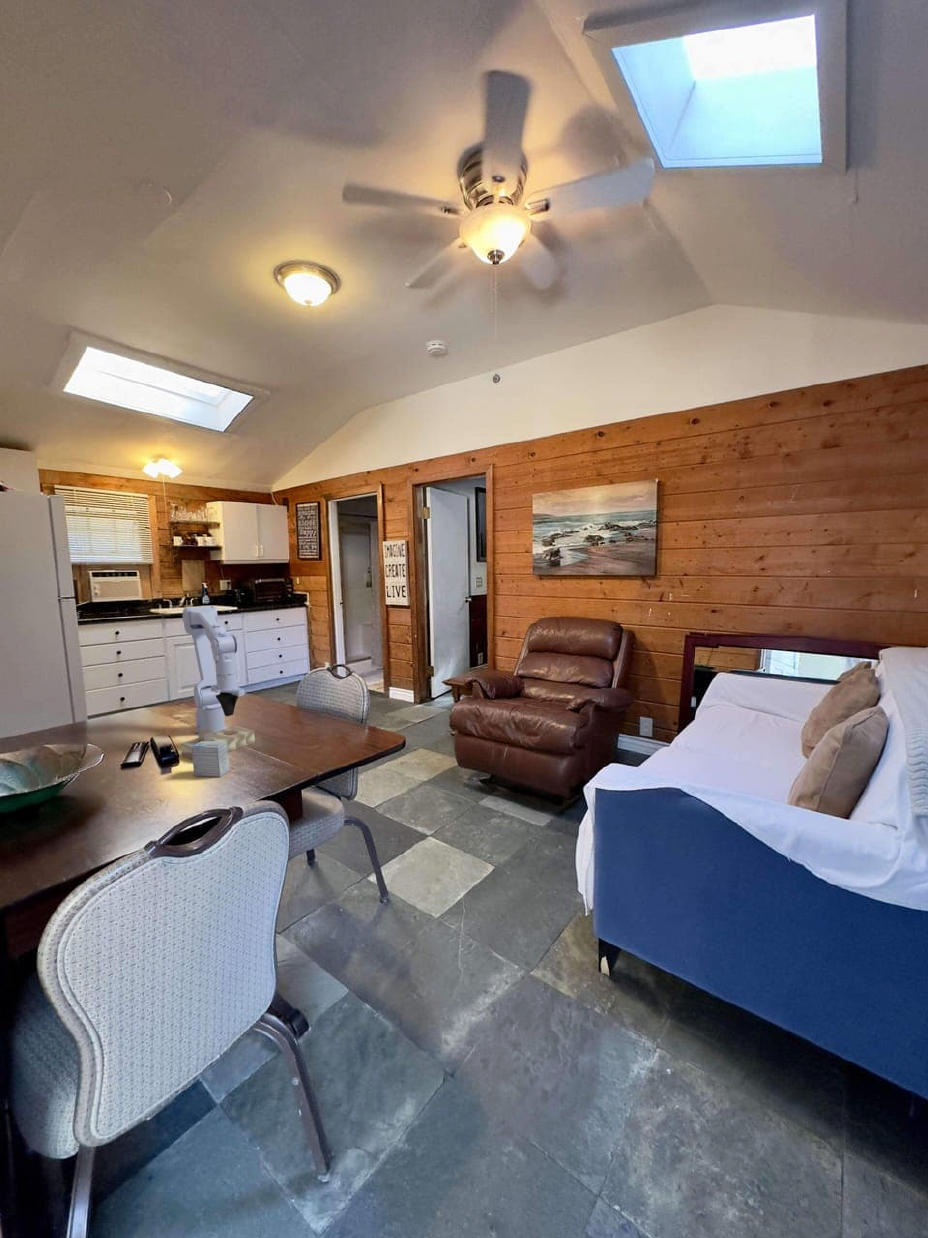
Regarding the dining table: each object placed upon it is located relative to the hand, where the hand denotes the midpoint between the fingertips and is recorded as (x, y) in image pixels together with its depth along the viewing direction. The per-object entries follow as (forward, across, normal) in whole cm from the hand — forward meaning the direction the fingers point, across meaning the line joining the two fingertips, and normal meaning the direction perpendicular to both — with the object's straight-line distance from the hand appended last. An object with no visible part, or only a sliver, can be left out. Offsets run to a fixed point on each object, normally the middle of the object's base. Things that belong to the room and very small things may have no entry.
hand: (229, 715), depth 153 cm
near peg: (+7, 0, -8) cm, 10 cm away
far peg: (+10, 0, 0) cm, 10 cm away
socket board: (+10, 0, -4) cm, 11 cm away
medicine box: (+10, +15, -16) cm, 24 cm away
